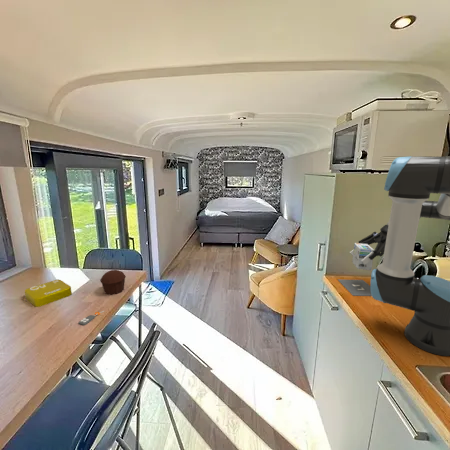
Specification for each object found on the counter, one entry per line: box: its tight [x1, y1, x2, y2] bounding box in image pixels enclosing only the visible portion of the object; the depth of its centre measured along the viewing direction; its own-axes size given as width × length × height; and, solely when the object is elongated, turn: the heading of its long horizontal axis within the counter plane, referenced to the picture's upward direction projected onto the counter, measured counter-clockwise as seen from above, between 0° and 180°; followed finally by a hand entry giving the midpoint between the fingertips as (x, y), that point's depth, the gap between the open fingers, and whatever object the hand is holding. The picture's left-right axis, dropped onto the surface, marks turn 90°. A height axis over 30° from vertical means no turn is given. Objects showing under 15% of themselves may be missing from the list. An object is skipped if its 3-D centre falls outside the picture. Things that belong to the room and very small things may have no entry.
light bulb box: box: [351, 242, 375, 271], centre depth 130 cm, size 11×7×11 cm, turn 168°
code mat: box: [337, 278, 372, 297], centre depth 134 cm, size 18×14×1 cm
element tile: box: [24, 279, 73, 308], centre depth 120 cm, size 15×15×5 cm
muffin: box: [99, 269, 127, 296], centre depth 126 cm, size 12×11×10 cm
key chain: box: [77, 310, 105, 326], centre depth 105 cm, size 13×4×2 cm, turn 162°
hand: (357, 258), depth 130 cm, fingers closed on light bulb box, 11 cm apart
